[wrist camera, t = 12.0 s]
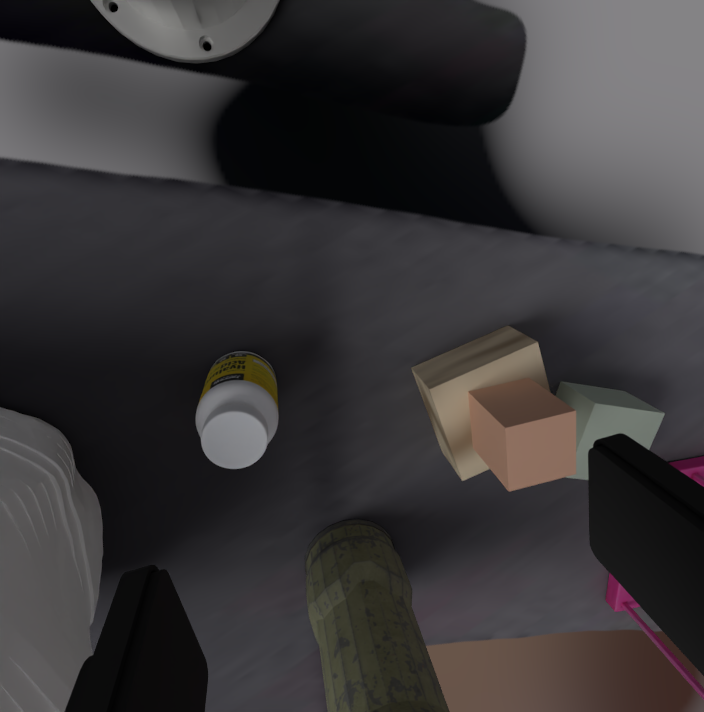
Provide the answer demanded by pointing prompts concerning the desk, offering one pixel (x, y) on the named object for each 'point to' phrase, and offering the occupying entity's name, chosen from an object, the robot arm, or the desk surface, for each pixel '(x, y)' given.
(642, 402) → the sage block
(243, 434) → the supplement bottle
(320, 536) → the thermos
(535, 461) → the terracotta block
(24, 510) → the white rounded piece
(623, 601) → the file sorter
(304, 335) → the desk surface
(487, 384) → the maple block
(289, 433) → the desk surface
